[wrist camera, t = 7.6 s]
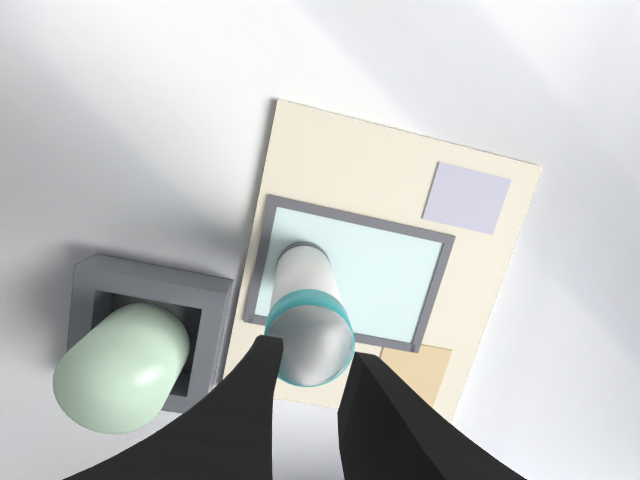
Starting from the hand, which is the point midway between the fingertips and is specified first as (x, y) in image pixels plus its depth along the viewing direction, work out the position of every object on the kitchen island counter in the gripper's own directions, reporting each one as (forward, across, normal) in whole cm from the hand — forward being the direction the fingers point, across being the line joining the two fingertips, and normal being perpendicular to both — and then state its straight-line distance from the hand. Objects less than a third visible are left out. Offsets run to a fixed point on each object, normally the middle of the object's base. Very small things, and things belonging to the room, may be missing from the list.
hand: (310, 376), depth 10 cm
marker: (+9, 0, 0) cm, 9 cm away
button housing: (+10, +7, +5) cm, 13 cm away
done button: (+8, +7, +5) cm, 12 cm away
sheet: (+10, -4, 0) cm, 11 cm away
